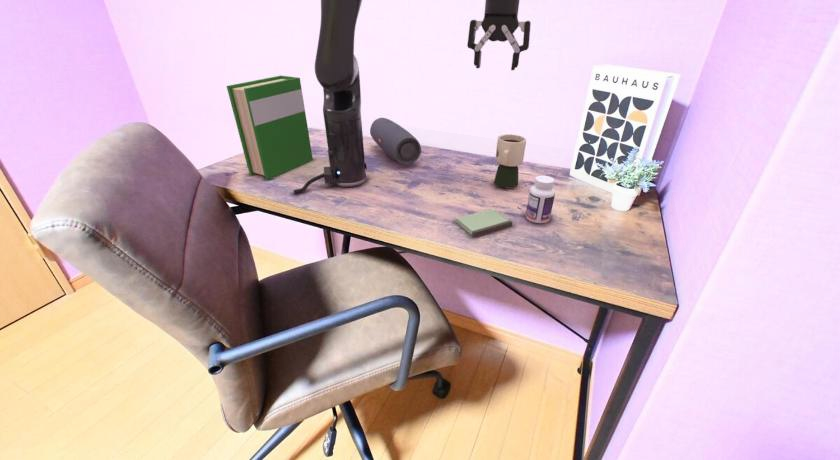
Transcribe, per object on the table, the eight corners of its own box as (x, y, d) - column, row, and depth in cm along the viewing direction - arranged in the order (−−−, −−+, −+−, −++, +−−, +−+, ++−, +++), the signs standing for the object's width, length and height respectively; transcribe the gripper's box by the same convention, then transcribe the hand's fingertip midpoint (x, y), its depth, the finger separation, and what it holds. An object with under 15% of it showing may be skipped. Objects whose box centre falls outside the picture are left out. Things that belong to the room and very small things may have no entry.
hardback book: (267, 180, 102) (246, 88, 90) (249, 174, 105) (226, 86, 93) (312, 159, 115) (299, 77, 103) (295, 155, 118) (280, 75, 106)
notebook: (473, 237, 78) (474, 232, 77) (456, 222, 83) (456, 217, 82) (511, 226, 82) (512, 221, 81) (492, 212, 87) (493, 208, 86)
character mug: (499, 175, 105) (504, 130, 98) (523, 180, 102) (531, 134, 95) (486, 190, 97) (491, 142, 90) (513, 196, 94) (520, 147, 87)
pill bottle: (548, 213, 87) (556, 174, 81) (550, 225, 82) (559, 185, 77) (524, 211, 87) (531, 173, 82) (525, 222, 83) (532, 183, 78)
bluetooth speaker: (369, 147, 125) (367, 117, 120) (394, 143, 128) (393, 114, 123) (393, 171, 108) (392, 137, 102) (422, 166, 111) (422, 133, 106)
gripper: (468, -10, 81) (463, 69, 90) (535, -11, 77) (523, 72, 86) (474, -10, 87) (469, 65, 96) (537, -10, 83) (526, 68, 92)
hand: (495, 68), depth 91 cm, fingers open, 8 cm apart
